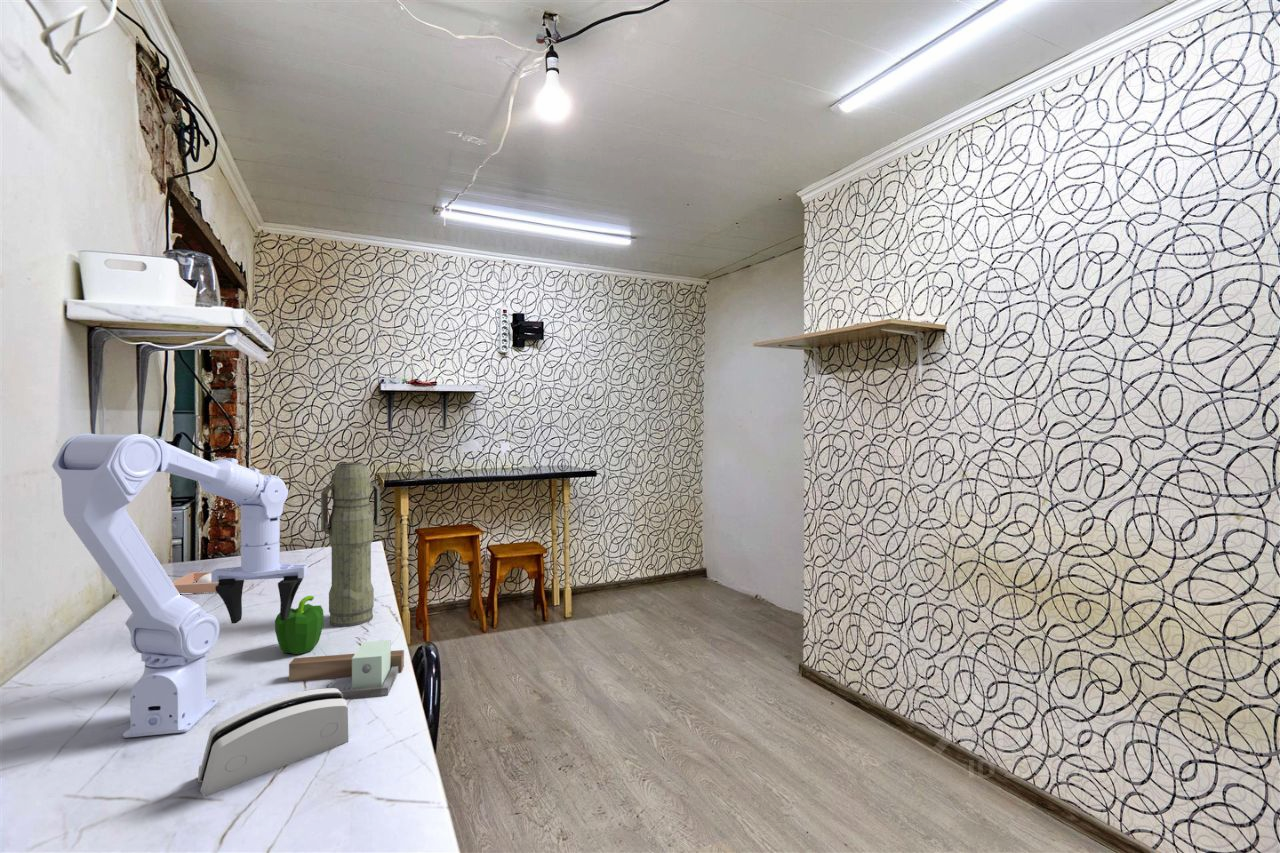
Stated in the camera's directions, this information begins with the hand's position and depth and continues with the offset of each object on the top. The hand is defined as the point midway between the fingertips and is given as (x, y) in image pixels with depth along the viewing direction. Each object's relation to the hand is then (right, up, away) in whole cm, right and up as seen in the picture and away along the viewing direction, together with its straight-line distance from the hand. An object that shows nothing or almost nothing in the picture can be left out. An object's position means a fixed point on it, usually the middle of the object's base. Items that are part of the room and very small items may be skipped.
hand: (260, 620), depth 102 cm
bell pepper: (+1, -10, +10) cm, 14 cm away
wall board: (+16, -10, -4) cm, 19 cm away
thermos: (+2, -9, +27) cm, 29 cm away
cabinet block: (+21, -10, -4) cm, 24 cm away
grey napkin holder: (+20, -10, -26) cm, 34 cm away
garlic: (-47, -9, +53) cm, 72 cm away
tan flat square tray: (-48, -9, +52) cm, 71 cm away
